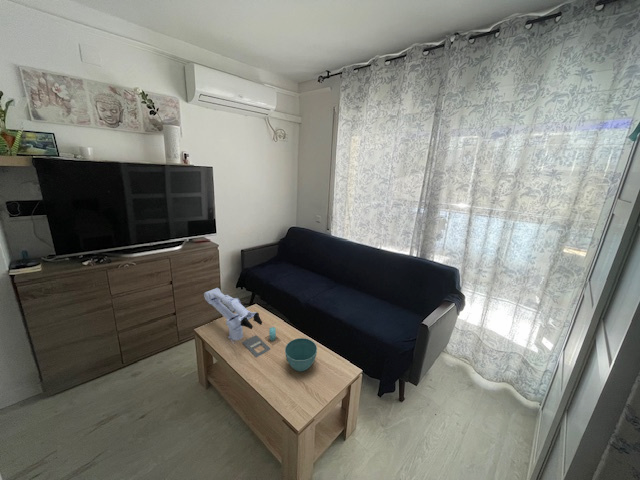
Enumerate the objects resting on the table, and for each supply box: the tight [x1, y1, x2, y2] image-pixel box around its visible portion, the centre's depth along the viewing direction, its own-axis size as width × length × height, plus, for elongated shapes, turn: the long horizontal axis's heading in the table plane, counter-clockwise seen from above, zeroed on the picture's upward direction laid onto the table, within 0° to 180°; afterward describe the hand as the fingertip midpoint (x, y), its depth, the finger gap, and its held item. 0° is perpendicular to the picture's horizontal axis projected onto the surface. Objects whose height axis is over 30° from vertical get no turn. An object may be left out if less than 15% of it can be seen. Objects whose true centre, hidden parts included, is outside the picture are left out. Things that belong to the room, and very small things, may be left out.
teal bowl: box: [284, 337, 318, 372], centre depth 142 cm, size 18×18×12 cm
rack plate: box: [241, 334, 271, 358], centre depth 156 cm, size 17×10×3 cm, turn 45°
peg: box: [268, 326, 277, 341], centre depth 162 cm, size 4×4×8 cm
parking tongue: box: [264, 334, 282, 347], centre depth 163 cm, size 10×7×2 cm
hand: (256, 325), depth 147 cm, fingers open, 7 cm apart
